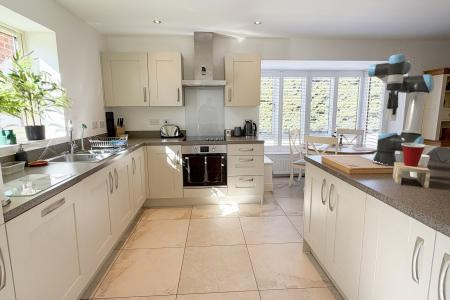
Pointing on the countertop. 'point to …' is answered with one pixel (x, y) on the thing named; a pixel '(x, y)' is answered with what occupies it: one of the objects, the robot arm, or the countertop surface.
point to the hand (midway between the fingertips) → (390, 120)
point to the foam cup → (423, 161)
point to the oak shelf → (421, 170)
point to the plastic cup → (412, 153)
